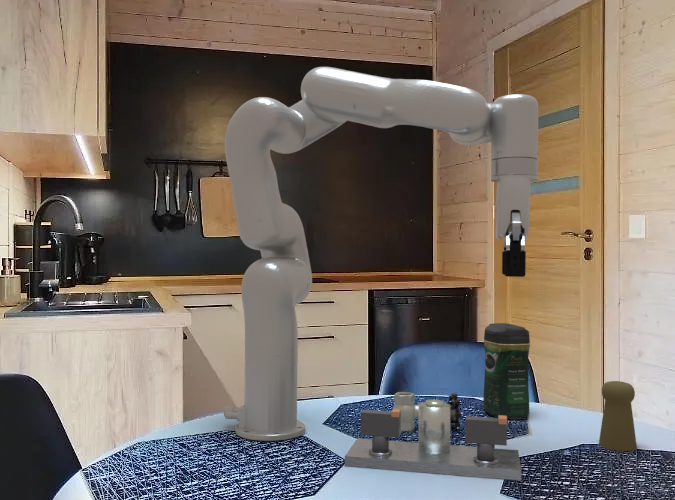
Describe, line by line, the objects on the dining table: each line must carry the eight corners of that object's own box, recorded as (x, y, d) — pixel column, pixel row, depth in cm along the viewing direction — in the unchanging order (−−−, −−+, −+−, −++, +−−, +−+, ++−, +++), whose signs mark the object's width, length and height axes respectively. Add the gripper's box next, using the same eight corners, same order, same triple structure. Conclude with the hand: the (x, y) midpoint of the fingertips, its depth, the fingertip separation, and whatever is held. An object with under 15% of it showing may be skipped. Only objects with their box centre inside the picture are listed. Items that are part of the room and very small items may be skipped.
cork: (637, 444, 113) (637, 380, 113) (637, 453, 108) (637, 386, 108) (599, 439, 116) (600, 377, 116) (597, 448, 110) (598, 383, 110)
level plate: (344, 465, 100) (345, 406, 100) (357, 447, 110) (357, 392, 110) (521, 480, 94) (521, 417, 94) (518, 459, 104) (518, 402, 104)
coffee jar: (536, 419, 130) (536, 325, 130) (499, 421, 128) (500, 326, 128) (511, 408, 139) (512, 320, 139) (477, 410, 137) (478, 321, 137)
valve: (395, 434, 118) (461, 433, 119) (396, 397, 118) (461, 397, 119) (390, 424, 125) (452, 424, 126) (390, 390, 125) (452, 389, 126)
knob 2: (465, 460, 98) (465, 416, 98) (465, 454, 100) (466, 412, 100) (506, 463, 96) (507, 419, 96) (506, 458, 99) (506, 415, 99)
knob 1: (359, 451, 101) (360, 410, 101) (362, 447, 104) (363, 406, 104) (398, 454, 100) (398, 412, 100) (400, 449, 102) (401, 408, 102)
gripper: (489, 178, 117) (488, 273, 117) (491, 165, 100) (490, 276, 100) (533, 177, 115) (532, 274, 115) (542, 164, 99) (541, 277, 98)
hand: (513, 275), depth 108 cm, fingers open, 9 cm apart
